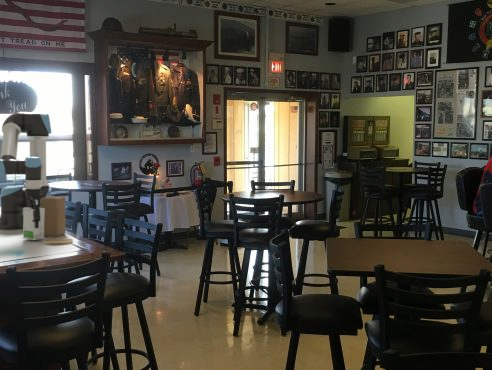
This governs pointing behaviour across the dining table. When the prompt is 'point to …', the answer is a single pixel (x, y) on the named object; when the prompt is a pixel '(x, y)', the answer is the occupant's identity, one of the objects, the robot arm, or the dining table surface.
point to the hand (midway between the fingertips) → (33, 232)
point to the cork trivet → (57, 241)
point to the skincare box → (29, 224)
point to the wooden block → (53, 215)
